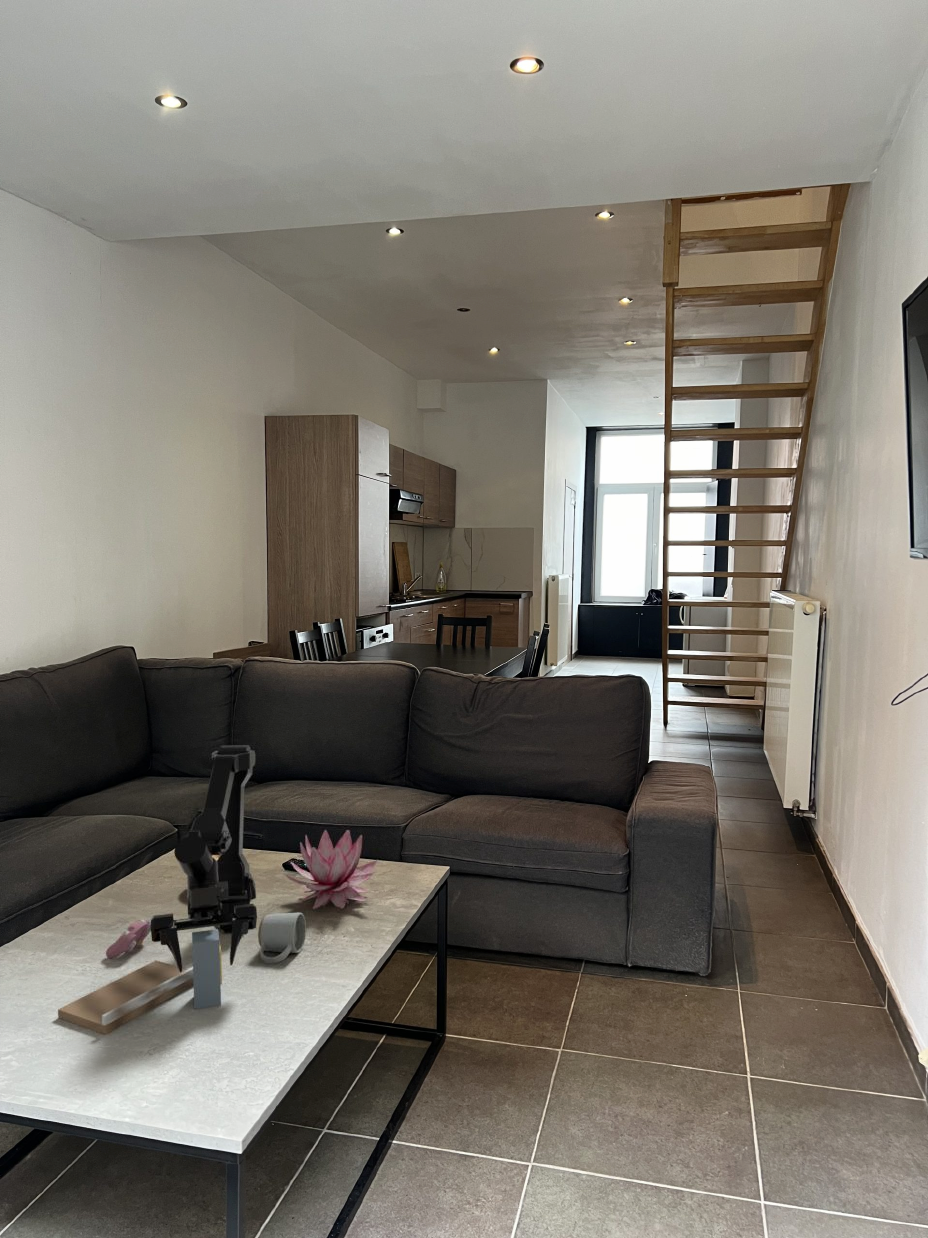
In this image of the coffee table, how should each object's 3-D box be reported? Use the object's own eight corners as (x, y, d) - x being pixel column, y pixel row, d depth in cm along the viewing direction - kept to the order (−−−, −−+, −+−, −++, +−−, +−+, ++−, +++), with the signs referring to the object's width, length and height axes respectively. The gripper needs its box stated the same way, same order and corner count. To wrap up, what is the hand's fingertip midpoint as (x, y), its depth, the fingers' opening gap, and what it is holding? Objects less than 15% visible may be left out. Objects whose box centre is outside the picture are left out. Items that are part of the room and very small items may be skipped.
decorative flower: (267, 904, 209) (265, 840, 208) (337, 879, 225) (335, 820, 224) (328, 927, 195) (326, 859, 194) (397, 898, 211) (396, 835, 210)
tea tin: (194, 1009, 159) (192, 943, 159) (193, 996, 164) (191, 932, 163) (222, 1005, 161) (220, 939, 160) (221, 992, 165) (219, 929, 165)
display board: (156, 967, 176) (155, 952, 176) (202, 981, 170) (201, 965, 170) (58, 1018, 157) (57, 1000, 157) (106, 1034, 151) (105, 1016, 151)
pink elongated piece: (121, 968, 180) (134, 939, 179) (102, 957, 180) (115, 927, 179) (147, 948, 189) (160, 919, 188) (129, 937, 190) (142, 909, 189)
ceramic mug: (269, 941, 188) (268, 905, 187) (307, 943, 187) (306, 907, 186) (250, 964, 177) (249, 927, 177) (290, 966, 176) (289, 928, 176)
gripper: (149, 873, 162) (149, 957, 152) (254, 861, 168) (261, 942, 158) (152, 900, 170) (152, 982, 160) (252, 888, 175) (258, 967, 166)
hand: (206, 968), depth 161 cm, fingers open, 8 cm apart
